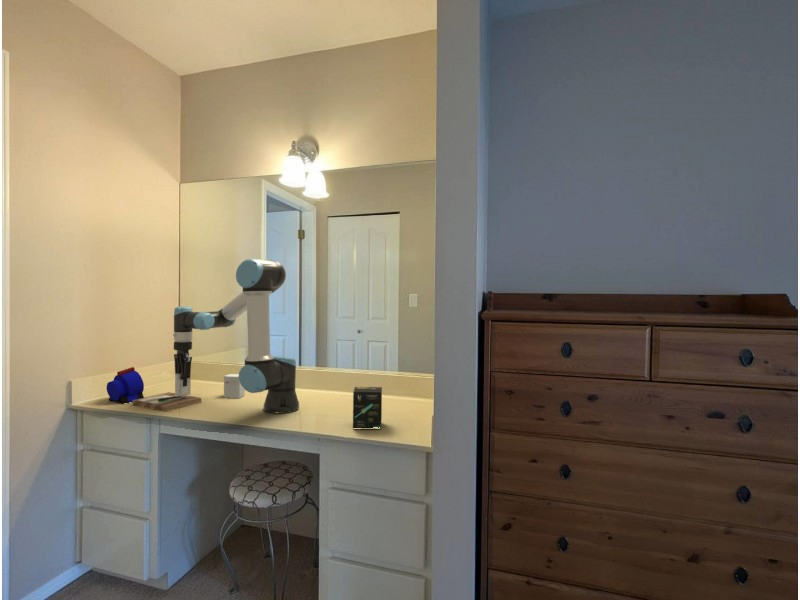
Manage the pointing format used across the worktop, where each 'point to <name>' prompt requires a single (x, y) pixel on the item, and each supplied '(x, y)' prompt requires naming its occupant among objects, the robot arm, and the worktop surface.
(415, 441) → the worktop surface
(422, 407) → the worktop surface
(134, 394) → the blue toy motor
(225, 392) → the small box
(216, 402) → the worktop surface
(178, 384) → the upright grey block
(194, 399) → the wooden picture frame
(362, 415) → the tampon box
